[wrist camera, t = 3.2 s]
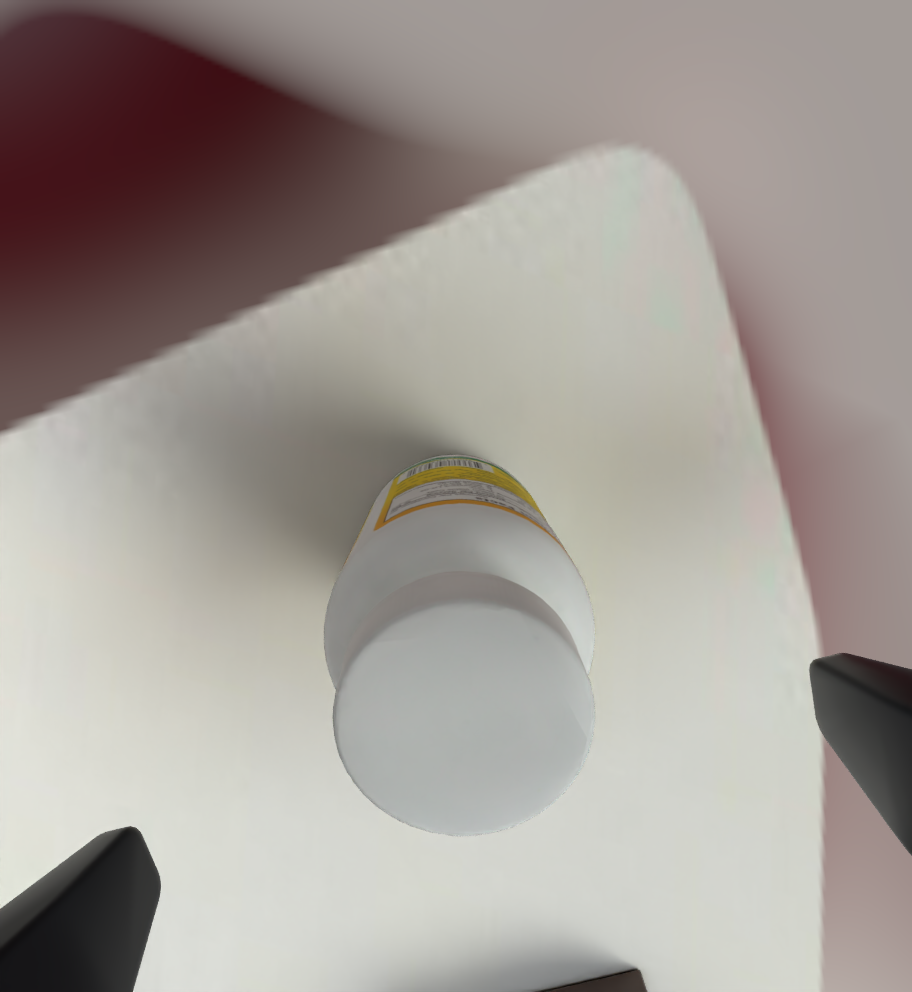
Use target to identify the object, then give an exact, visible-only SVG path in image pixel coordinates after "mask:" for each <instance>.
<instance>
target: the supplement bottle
mask: <svg viewBox="0 0 912 992" xmlns="http://www.w3.org/2000/svg"><path fill="white" fill-rule="evenodd" d="M594 643H595V625H594V615H593V609H592V604H591V601H590V597H589V594H588V591H587V589H586V586H585V584H584V581H583V579H582V577H581V575H580V573H579V571H578V569H577V567H576V566H575V564H574V562H573V561H572V559H571V558H570V556H569V555H568V553H567V551H566V550H565V548H564V547H563V545H562V544H561V542H560V540H559V539H558V537H557V536H556V534H555V533H554V531H553V530H552V528H551V527H550V526H549V524H548V523H547V521H546V519H545V518H544V516H543V514H542V513H541V511H540V510H539V508H538V506H537V505H536V503H535V501H534V500H533V498H532V496H531V495H530V494H529V492H528V491H527V490H526V489H525V488H524V486H523V485H522V484H521V483H520V482H519V481H518V480H517V479H516V478H515V477H514V476H513V475H511V474H510V473H509V472H507V471H506V470H504V469H503V468H501V467H499V466H497V465H495V464H493V463H491V462H489V461H486V460H483V459H480V458H477V457H472V456H467V455H443V456H437V457H432V458H428V459H425V460H422V461H420V462H417V463H415V464H413V465H411V466H409V467H407V468H406V469H404V470H403V471H401V472H400V473H398V474H397V475H396V476H395V477H394V478H393V479H392V480H391V481H390V482H389V483H388V484H387V485H386V486H385V487H384V488H383V489H382V491H381V492H380V494H379V495H378V497H377V498H376V500H375V502H374V504H373V505H372V507H371V510H370V512H369V514H368V516H367V518H366V520H365V522H364V524H363V527H362V529H361V531H360V533H359V535H358V537H357V539H356V541H355V543H354V545H353V547H352V549H351V551H350V553H349V555H348V557H347V559H346V561H345V563H344V565H343V567H342V569H341V572H340V574H339V576H338V578H337V580H336V582H335V584H334V587H333V589H332V592H331V596H330V599H329V602H328V606H327V611H326V616H325V624H324V648H325V656H326V661H327V666H328V670H329V674H330V676H331V679H332V682H333V685H334V687H335V689H336V694H335V700H334V706H333V727H334V736H335V740H336V745H337V749H338V752H339V755H340V758H341V760H342V762H343V764H344V766H345V768H346V771H347V773H348V774H349V775H350V777H351V778H352V780H353V782H354V783H355V785H356V786H357V787H358V788H359V789H360V791H361V792H362V793H363V794H364V795H365V796H366V797H367V798H368V799H369V800H370V801H371V802H372V803H373V804H375V805H376V806H377V807H378V808H380V809H381V810H383V811H384V812H386V813H387V814H389V815H390V816H392V817H394V818H395V819H397V820H399V821H401V822H403V823H406V824H408V825H410V826H412V827H416V828H419V829H422V830H425V831H429V832H433V833H438V834H445V835H450V836H472V835H482V834H489V833H493V832H498V831H501V830H505V829H508V828H512V827H514V826H516V825H519V824H521V823H523V822H525V821H527V820H529V819H531V818H533V817H535V816H536V815H538V814H540V813H541V812H543V811H544V810H545V809H547V808H548V807H549V806H550V805H552V804H553V803H554V802H555V801H556V800H557V799H558V798H559V797H560V796H561V795H562V794H564V792H565V791H566V790H567V788H568V787H569V786H570V785H571V784H572V783H573V781H574V780H575V778H576V777H577V775H578V773H579V772H580V770H581V768H582V766H583V764H584V762H585V760H586V758H587V755H588V753H589V749H590V745H591V742H592V737H593V732H594V723H595V706H594V697H593V692H592V687H591V682H590V679H589V677H588V674H589V671H590V668H591V664H592V659H593V653H594Z"/></svg>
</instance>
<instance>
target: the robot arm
mask: <svg viewBox="0 0 912 992" xmlns="http://www.w3.org/2000/svg"><path fill="white" fill-rule="evenodd" d="M809 672H810V680H811V687H812V694H813V701H814V708H815V715H816V720H817V723H818V726H819V728H820V730H821V732H822V734H823V736H824V737H825V739H826V740H827V741H828V743H829V744H830V746H831V747H832V748H833V749H834V751H835V752H836V754H837V755H838V757H839V758H840V759H841V761H842V762H843V763H844V765H845V766H846V768H847V769H848V770H849V772H850V773H851V775H852V776H853V777H854V779H855V780H856V781H857V783H858V784H859V786H860V787H861V788H862V790H863V791H864V793H865V794H866V795H867V797H868V798H869V799H870V801H871V802H872V804H873V805H874V806H875V808H876V809H877V810H878V812H879V813H880V815H881V816H882V817H883V819H884V820H885V822H886V823H887V824H888V826H889V827H890V828H891V830H892V831H893V832H894V834H895V835H896V836H897V838H898V839H899V840H900V842H901V843H902V844H903V846H904V847H905V848H906V849H907V851H908V852H909V853H910V854H911V855H912V669H908V668H904V667H899V666H895V665H892V664H888V663H884V662H879V661H876V660H872V659H867V658H863V657H859V656H855V655H851V654H847V653H839V654H835V655H831V656H827V657H822V658H818V659H815V660H813V662H812V663H811V664H810V669H809ZM160 891H161V881H160V876H159V873H158V870H157V868H156V866H155V863H154V861H153V859H152V857H151V854H150V852H149V850H148V847H147V845H146V843H145V840H144V838H143V836H142V834H141V832H140V831H139V830H138V829H137V828H135V827H131V826H129V827H125V828H120V829H116V830H112V831H108V832H105V833H102V834H100V835H99V836H97V837H96V838H94V839H93V840H92V841H90V842H89V843H88V844H86V845H85V846H84V847H82V848H81V849H80V850H78V851H77V852H76V853H74V854H73V855H72V856H70V857H69V858H68V859H66V860H65V861H64V862H62V863H61V864H60V865H58V866H57V867H56V868H54V869H53V870H52V871H50V872H49V873H48V874H46V875H45V876H44V877H42V878H41V879H40V880H38V881H37V882H36V883H34V884H33V885H32V886H30V887H29V888H28V889H26V890H25V891H24V892H22V893H21V894H20V895H18V896H17V897H16V898H14V899H13V900H12V901H10V902H9V903H8V904H6V905H5V906H4V907H2V908H1V909H0V992H133V989H134V986H135V982H136V978H137V975H138V971H139V968H140V964H141V961H142V957H143V954H144V950H145V947H146V943H147V940H148V936H149V933H150V929H151V926H152V922H153V919H154V915H155V912H156V908H157V905H158V901H159V897H160Z"/></svg>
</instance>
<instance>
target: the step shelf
mask: <svg viewBox="0 0 912 992" xmlns="http://www.w3.org/2000/svg"><path fill="white" fill-rule="evenodd" d="M546 992H647V990H646V987H645V983H644V980H643V977H642V974H641V972H640V971H639V970H636V971H631V972H627V973H623V974H619V975H614V976H610V977H606V978H601V979H597V980H593V981H588V982H584V983H580V984H576V985H571V986H567V987H563V988H558V989H554V990H550V991H546Z"/></svg>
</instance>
